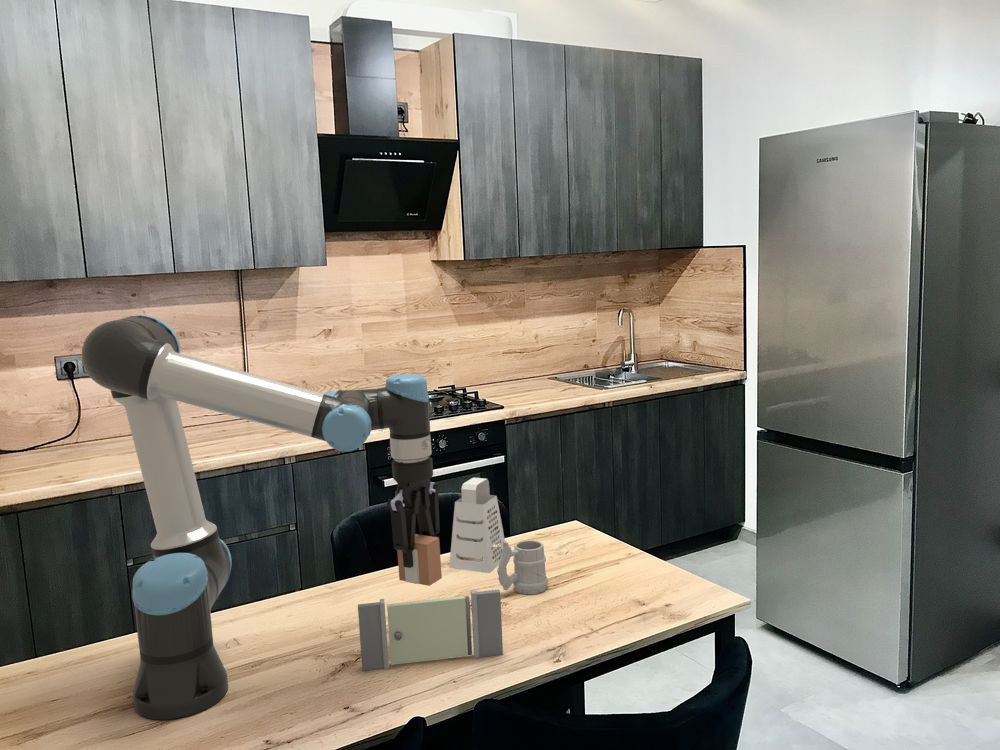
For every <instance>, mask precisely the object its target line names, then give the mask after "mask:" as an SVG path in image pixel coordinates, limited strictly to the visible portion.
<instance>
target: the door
mask: <svg viewBox="0 0 1000 750" xmlns="http://www.w3.org/2000/svg"><path fill="white" fill-rule="evenodd" d="M470 601H471V598H470V595H466V596H464V595H461V596H453V597H443V598H433V599H424V600H415V601H414V600H413V601H406V602H404V601H403V602H395V603H387V604H386V610H387V611H386V613H387V623H388V624H387V625H388V627H387V629H388V641H389V654H390V657H389V658H390V665H398V664H399V665H400V664H406V663H407V664H408V663H415V662H417V663H418V662H424V661H433V660H440V659H441V660H442V659H451V658H459V657H466V656H467V657H468V656H472V654H473V644H472V643H473V639H472V624H471V623H472V622H471V621H472V619H471V605H470V603H471V602H470Z"/></svg>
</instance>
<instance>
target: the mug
mask: <svg viewBox="0 0 1000 750" xmlns="http://www.w3.org/2000/svg"><path fill="white" fill-rule="evenodd" d="M513 547H514V549H512V548H511V545H510V544H509V542H507V541H503V551H502V555H501V559H500V558H499V560H500V563H499V565H498V566H497V568H496V569H497V570H496V572H497V575H498V582H499V584H500V586H501V587H502V589H503V591H508V590H509V589H510V588H511V586H512V585H513V586H514V590H515V591H516V592H517V593H518V594H522V595H530V596H531V595H537V594H540V593H543V592H545V591H546V590H547V585H548V583H549V579H548V577H547V573H546V559H547V557H546V556H545V547H544V543H542V542H540V541H538V540H535V539H534V540H533V539H531V540H530V539H528V540H527V539H526V540H521V541H519V542H516V543H515V544H514V546H513ZM512 557H513V558H512ZM511 558H512V559H513V560H512V561H513V565H514V566H513V567H514V572H513V573H512V574H511V575H509V574H508V572H507V565H508V563H509V562H510V560H511Z"/></svg>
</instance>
